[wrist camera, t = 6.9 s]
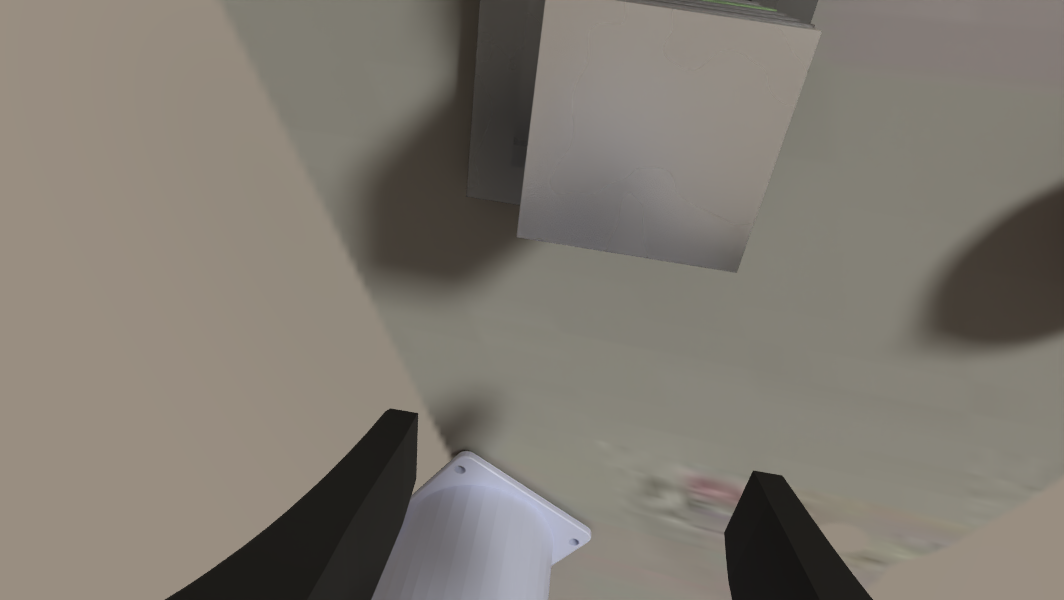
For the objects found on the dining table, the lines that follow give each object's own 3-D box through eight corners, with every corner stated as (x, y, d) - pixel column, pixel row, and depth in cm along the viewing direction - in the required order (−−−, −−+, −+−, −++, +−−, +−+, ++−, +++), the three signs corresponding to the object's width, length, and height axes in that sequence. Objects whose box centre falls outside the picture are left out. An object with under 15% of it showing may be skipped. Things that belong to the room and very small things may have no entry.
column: (697, 169, 15) (737, 274, 11) (543, 145, 16) (514, 238, 11) (746, -3, 13) (824, 29, 8) (567, -29, 13) (545, -13, 9)
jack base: (729, 224, 20) (790, 366, 14) (473, 183, 21) (406, 303, 14) (900, -291, 14) (1196, -527, 7) (512, -343, 14) (419, -619, 7)
